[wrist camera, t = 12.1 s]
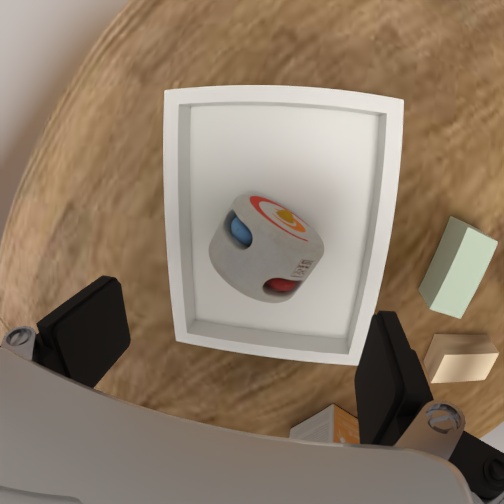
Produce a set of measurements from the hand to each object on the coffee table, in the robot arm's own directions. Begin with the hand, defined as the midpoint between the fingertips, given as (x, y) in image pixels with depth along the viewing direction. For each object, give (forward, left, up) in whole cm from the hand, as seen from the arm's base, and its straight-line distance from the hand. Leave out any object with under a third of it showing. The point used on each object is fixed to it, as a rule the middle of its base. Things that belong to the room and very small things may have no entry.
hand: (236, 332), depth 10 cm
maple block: (-8, -17, -11) cm, 22 cm away
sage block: (0, -13, -11) cm, 17 cm away
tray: (+1, 0, -11) cm, 11 cm away
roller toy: (0, 0, -11) cm, 11 cm away
